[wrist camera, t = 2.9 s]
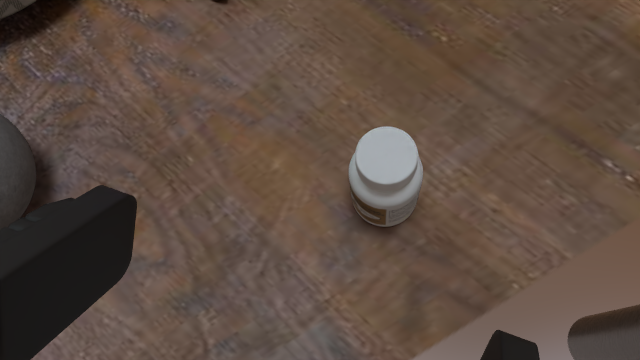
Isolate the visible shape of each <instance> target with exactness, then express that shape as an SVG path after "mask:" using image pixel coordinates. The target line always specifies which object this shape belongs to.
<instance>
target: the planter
mask: <svg viewBox="0 0 640 360" xmlns="http://www.w3.org/2000/svg"><path fill="white" fill-rule="evenodd" d="M35 1H37V0H0V19H2V18H5V17H7V16H10V15H12V14H14V13H16V12H18V11H20V10H22V9H24V8H26V7H27V6H29V5H31V4H32V3H34V2H35Z"/></svg>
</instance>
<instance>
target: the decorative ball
mask: <svg viewBox="0 0 640 360" xmlns="http://www.w3.org/2000/svg"><path fill="white" fill-rule="evenodd" d="M35 183H36V167H35V161H34V157H33V154H32V151H31V149H30V146H29V145H28V143H27V141H26V139H25V138H24V136H23V135H22V134H21V132H20V131H19V130H18V128H17V127H16V126H15V125H14V124H12V123H11V122H10V121H9V120H8V119H7V118H5V117H4V116H3V115H1V114H0V229H2V228H4V227H7V228H8V227H9V224H11V223H13V222H15V221H16V220H18V219H19V218H20V217H21V216H22V214H23V213H24V212H25V210H26V208H27V207H28V205H29V203H30V201H31V199H32V196H33V192H34V188H35Z"/></svg>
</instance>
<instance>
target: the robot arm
mask: <svg viewBox="0 0 640 360" xmlns="http://www.w3.org/2000/svg"><path fill="white" fill-rule="evenodd" d="M136 210H137V202H136V199H135V197H134V196H131V195H129V194H126V193H123V192H120V191H118V190H115V189H112V188H109V187H107V186H104V185H100V186H97V187H95V188H93V189H92V190H90V191H88V192H86V193H85V194H83V195H81V196H80V197H78V198H76V199H73V198H68V199H64V200H60V201H56V202H52V203H48V204H45V205H43V206H42V207H40V208H38V209H36V210H34V211H33V212H31V213H29V214H27V215H26V217H25V218H20V219H18V220H16V221H15V222H13V223H11V224H9V227H8V228H7V227H4V228H2V229H0V360H30V359H32V358H33V357H34V356H35V355H36V354H37V353H38V352H39V351H41V350H42V349H43V348H44V347H45V346H46V345H47V344H48V343H50V342H51V341H52V340H53V339H54V338H55V337H56V336H57V335H59V334H60V333H61V332H62V331H63V330H64V329H65V328H67V327H68V326H69V325H70V324H71V323H72V322H73V321H74V320H76V319H77V318H78V317H79V316H80V315H81V314H82V313H83V312H85V311H86V310H87V309H88V308H89V307H90V306H91V305H93V304H94V303H95V302H96V301H97V300H98V299H99V298H100V297H102V296H103V295H104V294H105V293H106V292H107V291H108V290H109V289H111V288H112V287H113V286H114V285H115V284H116V283H117V282H118V281H119V280H120V279H121V278H122V277H123V275H124V274H125V272H126V270H127V268H128V266H129V264H130V261H131V257H132V249H133V239H134V230H135V220H136ZM480 360H540V358H539V353H538V347H537V345H536V344H535V343H533V342H530V341H528V340H525V339H522V338H520V337H517V336H514V335H511V334H509V333H506V332H503V331H500V330H496V331H495V332H494V334H493V335H492V337H491V339H490V341H489V343H488V345H487V347H486V349H485V351H484V353H483V355H482V357H481V359H480Z"/></svg>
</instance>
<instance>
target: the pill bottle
mask: <svg viewBox="0 0 640 360" xmlns="http://www.w3.org/2000/svg"><path fill="white" fill-rule="evenodd" d="M422 178H423V167H422V163H421V160H420V158H419V156H418V150H417V147H416V144H415V142H414V141H413V139H412V138H411V137H410V136H409V135H408V134H407V133H406V132H404V131H402V130H400V129H398V128H394V127H379V128H375V129H373V130H371V131H369V132H368V133H366V134H365V135H364V136H363V137H362V138H361V140H360V141H359V143H358V145H357V147H356V151H355V154H354V155H353V157H352V159H351V161H350V165H349V182H350V188H351V195H352V201H353V205H354V207H355V209H356V211H357V213H358V214H359V215H360V216H361V217H362V218H363V219H364V220H365V221H367V222H369V223H371V224H373V225H376V226H382V227H389V226H394V225H397V224H399V223H401V222H403V221H404V220H406V219H407V218H408V217H409V216H410V215H411V213H412V212H413V210H414V208H415V206H416V203H417V199H418V196H419V192H420V188H421V184H422Z"/></svg>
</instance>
